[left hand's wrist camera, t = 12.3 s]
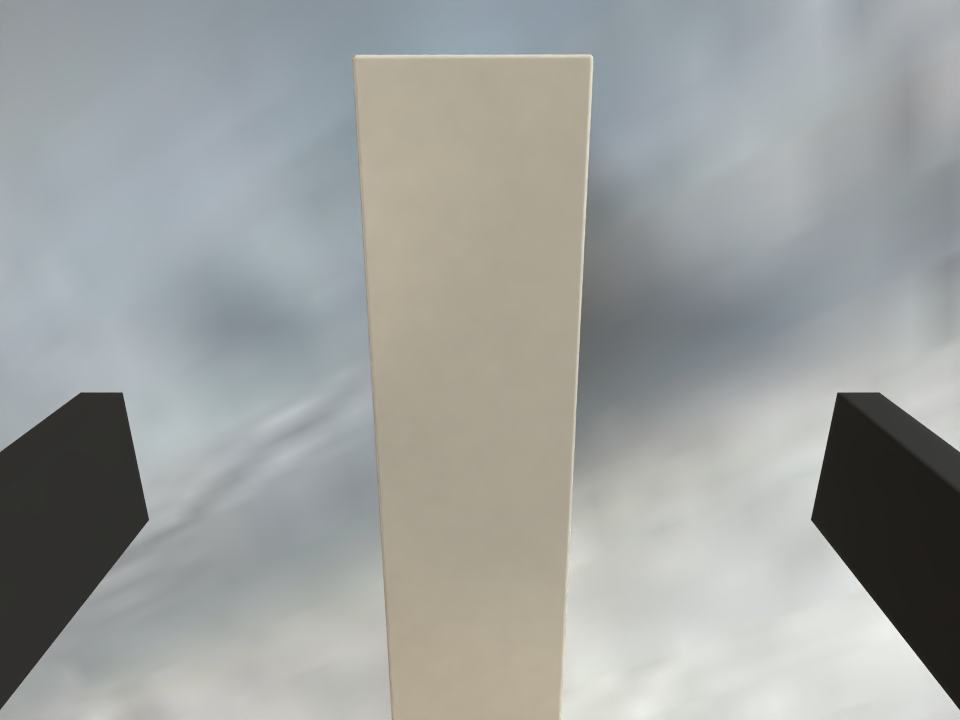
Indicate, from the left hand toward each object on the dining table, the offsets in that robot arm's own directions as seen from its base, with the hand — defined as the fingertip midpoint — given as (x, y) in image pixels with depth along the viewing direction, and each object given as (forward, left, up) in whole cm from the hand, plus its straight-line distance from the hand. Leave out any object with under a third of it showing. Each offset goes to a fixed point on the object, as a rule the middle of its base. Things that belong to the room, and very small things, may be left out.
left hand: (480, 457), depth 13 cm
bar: (+16, +12, -11) cm, 23 cm away
